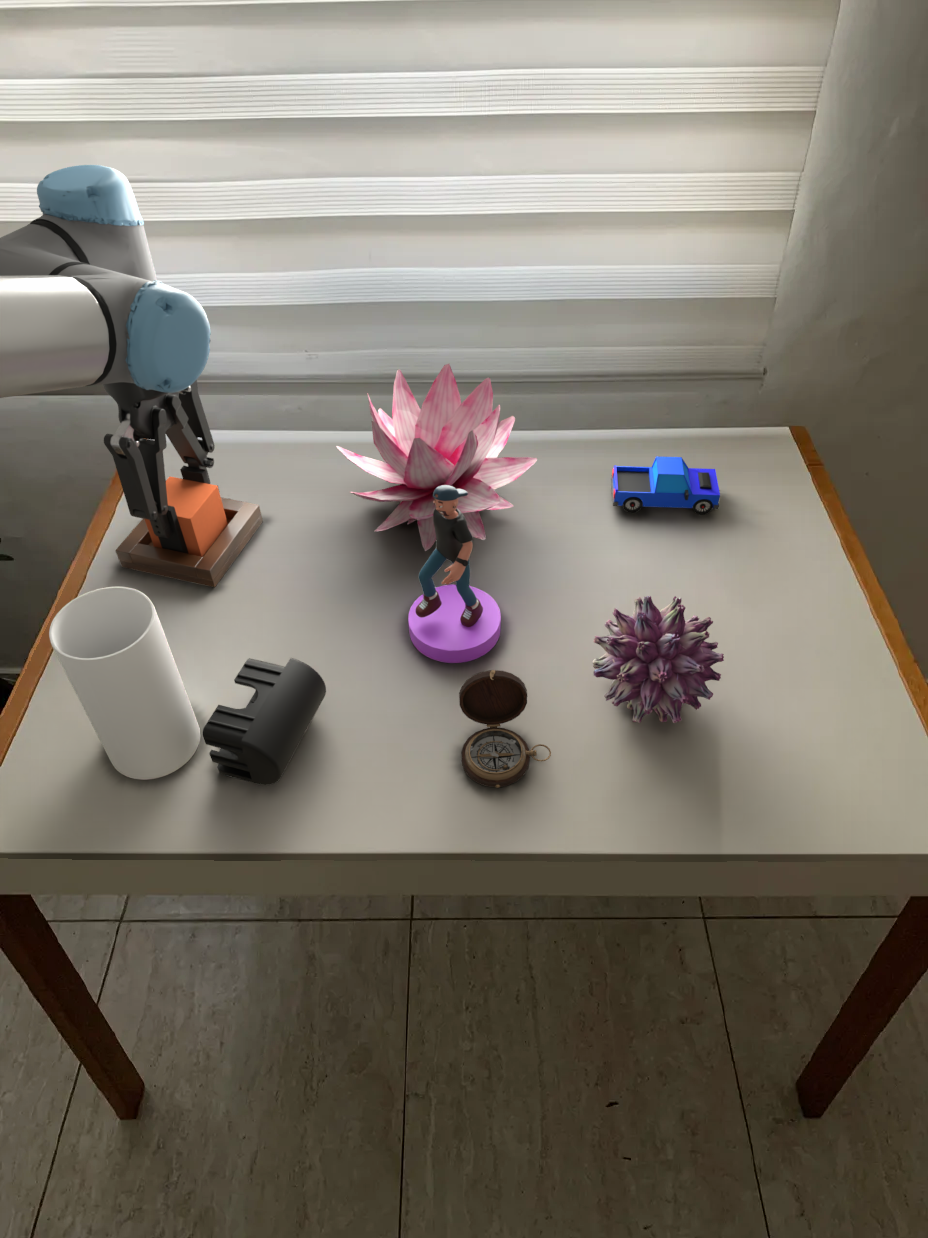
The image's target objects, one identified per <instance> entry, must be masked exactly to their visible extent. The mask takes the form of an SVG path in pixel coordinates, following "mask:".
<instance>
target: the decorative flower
mask: <svg viewBox="0 0 928 1238" xmlns="http://www.w3.org/2000/svg"><path fill="white" fill-rule="evenodd" d="M392 391H393V392H392V393H393V394H392V411H391V416H389V414H388V413H386V412H385V411H384V410H383V409H382V408H381V407H380V408H378V409H376V408H375V406H374V405H373V403H372V400H371V397H370V395H369V393H368V392H367V399H368V400H367V401H368V405H369V406H368V407H369V413H370V416H371V418H372V420H371V431H372V438H373V444H374V446H375V447H376V449H377V451H378V453H379V454H380V456H381V457H382V460H379V459H375V458H372V457H369V456H364V455H361V454H358V453H356V452H354V451H351V450H349V449H346V448H344V447H342V446H339V445H336V446H335V447H336V448H337V449H338V450H339V452H340V453H341V454H342V455H343V456H344V457H345V458H346V459H347V460H348V461H350V462H351V463H353V464H354V465H355V466H357V467H358V468H360V469H361V470H363V471H364V472H366V473H367V474H370V475H372V476H374V477H376V478H379V479H381V480H383V481H385V482H387V483H389V484H397V485H393V486H389V487H385V488H381V489H377V490H371V491H364V492H356V491H350V494H353V495H355V496H357V497H359V498H361V499H363V500H368V501H373V502H377V503H389V502H390V503H391V502H392V503H393V502H399V504H398V505H397V506H396V507H395V508H394V510H393V511H392V512H391V513H390V514H389V515H388V516H387V518H385V520H384V521H383V522H382V523H380V525H378V527H377V528H376V529H375V530H374V532H383V531H388V530H389V529H392V528H394V527H397V526H399V525H401V524H404V523H406V522H407V525H406V526H408V525H410V524H412V523H414V522H415V521H417V527H418V532H419V536H420V541H421V545H422V547H423V549H424V551H425V552H426V551H428V550H430V549H431V548H432V547H433V546H434V544H435V543H436V533H435V528H434V523H433V512H434V510H435V508H436V505H434V503H433V502H434V497H433V493H434V490H435V489H436V488H437V487H438V486H441V485H450V486H453V487H454V488H456V489H463V490H465V491H467V493H468V495H467V496H462V497H459V498H458V505H457V509H458V510H459V511H460V512H461V513H462V514H463V516H464V517H465V519H466V522H467V526H468V528H469V531H470V533H471V535H472V537H473V538H475V539H479V540H483V541H485V540H486V539H487V537H486V531H485V527H484V526H485V525H484V523H483V519H482V517H481V513H480V512H481V511H485V510H488V511H489V510H490V511H498V510H504V509H510V508H513V507H514V504H512V503H511V502H510V501H508V500H507V499H505V498H503V497H502V496H500V495H499V494H498V493H497V491H495V490H497V489H500V488H501V487H504V486H505V485H508V484H511V483H512V482H514V481H516V480H517V479H519V477H521V476H522V475H523V474H524V473H525V472H527V470H529V469H530V468H531V467H533V466H534V465H535V463H537V461H538V457H530V456H501V457H498V456H499V455H500V453H501V452H502V451H503V449H504V448H505V446H506V445H507V443H508V440H509V437H510V435H511V432H512V430H513V427H514V425H515V421H516V418H515V416H514V415H511V416H509V417H507V418H504V419H501V420H500V417H501V404H498V405H497V406H496V407H495V408H494V409H493V403H494V402H493V401H494V392H493V386H492V382H491V377H486V378H484V379H483V381H481V382H480V384H478V385H477V386H476V387H475V388H474V389H473V390H472V391H471V392H470V393H469V394H468V396H466V398H465V399H464V400H463V401H462V399H461V395H460V392H459V388H458V383H457V380H456V377H455V375H454V372H453V369H452V367H451V365H450V363H446V364H444V365H443V366H442V367H441V370H440V371H439V373H438V374H437V376H436V377H435V379H434V380H433V382H432V384H431V386H430V388H429V390H428V392H427V394H426V396H425V397H424V400H423V402H422V404H421V408H420V406H419V404H418V402H417V399H416V398H415V396H414V394H413V392H412V390H411V388H410V386H409V384H408V382H407V379H406V378H405V376H404V374H403V372H402V370H401V369H397V371H396V374H395V378H394V382H393V390H392Z"/></svg>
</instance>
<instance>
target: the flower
mask: <svg viewBox="0 0 928 1238" xmlns="http://www.w3.org/2000/svg"><path fill="white" fill-rule="evenodd" d="M633 601H634V610H633V613H632V615H631V616H629V615H627V614H624V613H622V612H621V611H620V610H619V609H617V608H616V607H614V608H613V612H612V615H613V617H614V618H615V620H616V622H615V621H612V620H611V619H608V620H607V621H605V623H604V627H605V628H606V629H607V630H608V632H609V635H606V636H599V635H594V638H593V643H594V644H597V645H599V646H600V647H601V648H602V649H603V650H604V651H605V652H606V653H604V654H603V655H602V656H600V657H598V658H594V659H592V668H594V670H593V676H594V677H595V678H603V679H607V680H612V682H611V686H610V687H609V690H608V691H607V692H606V693H605V694H604V698H605V702H608V701H609V700H611V704H613V706H614V707H619V705H621V704H622V703H625V702H626V703H627V704H626V707H627V709H628V710H630V711H633V716H632V722H633V723H639V724H641V723H642V720H643V719H644V717H645V715H647V716H648V715H650V714H651V713H652V712H653V710H654V711H655V713H656V714H657V716H658V719H659V722H661V723H664V722H665V723H666V722H667V721H668V716H669V717H670V719H671V721H672V723H673V724H676V723H680V722H682V716H681V715H682V714H681V710H682V708H683V707H682V706H683V705H684V704H685V705H689V706H691V707H692V708H693V709H695V711H697V710H699V709H700V708H701V707H702V703H701V702H700V700H699V699H698V698H705V700H707V701H708V700H709V701H710V700H711V698H713V696H714V693H713V692H712V691H711V690H710V689H709V688H708V687H707V685H706V682H708V681H717V682H720V680H721V679H722V677H721V676H722V673H720V672H717V671H715V669H713V668H712V666H714V665H715V664H717V663H723V662H724V661H725V659H724V658H725V656H724V653H719V652H716V651H713V650H716V649H717V648H719V647H718V645H719V642H717V641H713V642H708V641H705V640H707V639H709V638H710V632H708V629H709V627H710V626H712V625H713V623H714V621H713V620H712V618H711V617H710V616H708V617H705V618H704V619H702V620H701V619H700V617H699V616H697V615H695V614H694V615H693V616H692V617H690V618H689V619H686V618H685V610H686V606H685V605H684V604H682V597H677V596H676V595H675V596H674V597H673V598H672V601H671V603H669V604H668V605H667V606H665V607H664V608H661V609H660V610H659V608H658V607H657V606H656V605H655V604H654V602H653V599H652V596H651V595H646V596H643V599H642V598H641V596H639V597H638V598H634V600H633Z"/></svg>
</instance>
